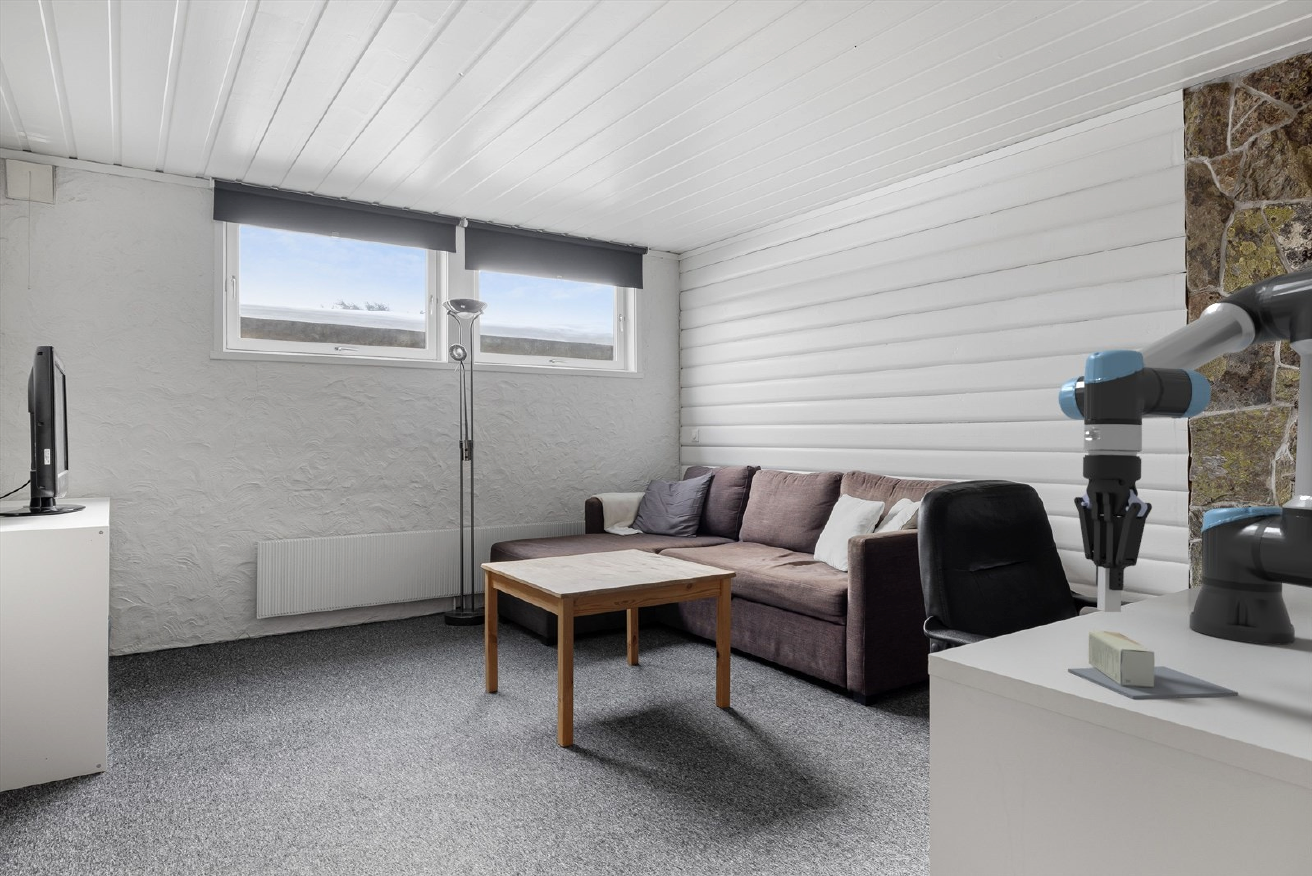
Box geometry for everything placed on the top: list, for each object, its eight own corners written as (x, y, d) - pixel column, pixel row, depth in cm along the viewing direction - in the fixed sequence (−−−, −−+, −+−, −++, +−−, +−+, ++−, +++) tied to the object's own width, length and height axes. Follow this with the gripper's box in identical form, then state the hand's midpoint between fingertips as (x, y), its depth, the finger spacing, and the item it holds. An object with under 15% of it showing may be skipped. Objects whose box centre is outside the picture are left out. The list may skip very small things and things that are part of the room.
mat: (1163, 669, 112) (1163, 666, 112) (1238, 695, 101) (1238, 692, 101) (1068, 671, 110) (1068, 668, 110) (1132, 698, 98) (1132, 695, 98)
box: (1118, 665, 112) (1154, 690, 101) (1087, 663, 113) (1119, 688, 102) (1119, 630, 112) (1155, 651, 101) (1088, 628, 113) (1120, 649, 102)
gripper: (1059, 452, 119) (1056, 601, 119) (1123, 453, 106) (1120, 621, 106) (1102, 454, 120) (1099, 601, 120) (1169, 455, 107) (1166, 620, 107)
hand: (1109, 610), depth 113 cm, fingers closed
